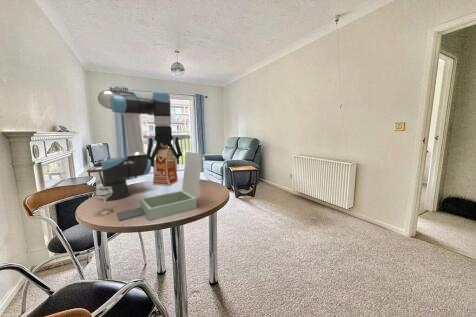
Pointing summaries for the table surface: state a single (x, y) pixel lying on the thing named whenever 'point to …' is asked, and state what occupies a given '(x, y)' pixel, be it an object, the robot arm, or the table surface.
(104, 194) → the wineglass
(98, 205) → the table surface
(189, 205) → the green shallow open box
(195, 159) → the lid
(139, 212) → the mat
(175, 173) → the milk carton
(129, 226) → the table surface
